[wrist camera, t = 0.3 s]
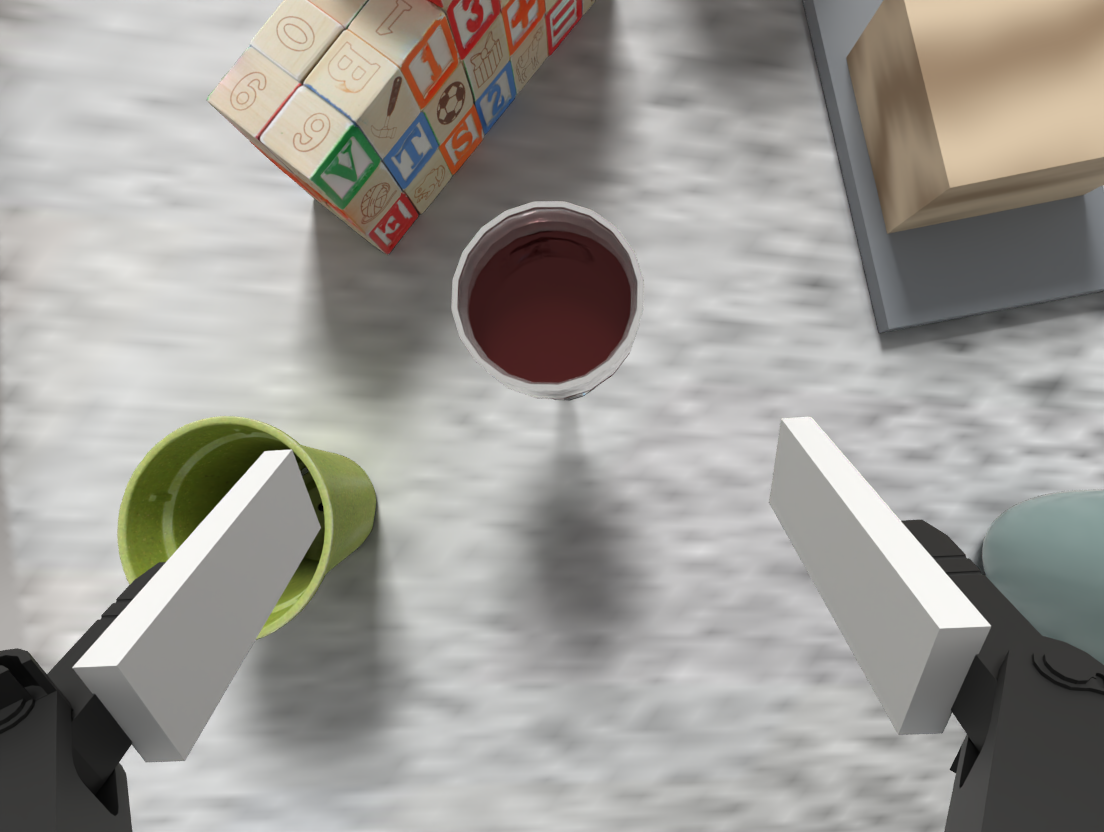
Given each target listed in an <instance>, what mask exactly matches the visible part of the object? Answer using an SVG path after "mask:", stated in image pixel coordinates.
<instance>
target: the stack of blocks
mask: <svg viewBox="0 0 1104 832" xmlns="http://www.w3.org/2000/svg"><path fill="white" fill-rule="evenodd" d="M595 1H596V0H284V1H283V2H282V3H281V4H280V6H279V7H278V8H277V9H276V11H275V12H274V13H273V14H272V15H271V17H270V18H269V19H268V20H267V22H266V23H265V24H264V25H263V27H262V28H261V29H260V30H259V31H258V33H257V34H256V35H255V36H254V38H253V39H252V40H251V42H250V44H249V45H250V47H249V48H247V49H246V50H245V51H244V53H243V54H242V55H241V56H240V58H239V59H238V60H237V61H236V62H235V64H234V65H233V66H232V68H231V69H230V70H229V71H228V72H227V73H226V75H225V76H224V77H223V78H222V80H221V81H220V83H219V84H218V85H217V86H216V87H215V89H214V90H213V91H212V92H211V93H210V95H209V96H208V98H207V101H208V102H209V103H210V104H211V105H212V106H213V107H214V108H215V109H216V110H217V111H218V112H219V113H220V114H221V115H223V116H224V117H225V118H226V119H227V120H228V121H229V122H230V123H231V124H232V125H233V126H234V127H235V128H236V129H238V130H239V131H240V132H241V133H242V134H243V135H244V136H245V137H246V138H247V139H249V140H250V142H251V143H252V144H253V145H254V146H255V147H256V148H257V149H258V150H260V151H261V152H262V153H263V154H264V155H265V156H266V157H267V158H268V159H269V160H270V161H272V162H273V163H274V164H275V165H276V166H277V167H278V168H279V169H281V170H282V171H283V172H284V173H285V174H287V175H288V176H289V177H290V178H291V179H292V180H294V181H295V182H296V183H297V184H298V185H299V186H300V187H302V188H303V189H304V190H305V191H306V192H307V193H308V194H309V195H311V196H312V197H313V198H314V199H315V200H317V201H318V202H319V203H321V204H322V205H323V206H324V207H326V208H327V209H328V210H330V211H331V212H332V213H333V214H335V215H336V216H337V217H338V218H340V219H341V220H342V221H344V222H345V223H346V224H347V225H349V226H350V227H351V228H352V229H353V230H354V231H356V232H357V233H358V234H359V235H361V236H362V237H363V238H365V239H366V240H367V241H368V242H370V243H371V244H372V245H374V246H375V247H376V248H378V249H379V250H381V251H382V252H384V253H385V254H387V255H388V254H389V253H390V252H391V251H392V249H393V248H394V247H395V246H396V244H397V243H398V242H399V240H400V239H401V238H402V237H403V235H404V234H405V233H406V231H407V230H408V229H409V228H410V227H411V225H412V224H413V222H414V221H415V220H416V219H417V218H418V215H419V214H422V213H424V211H425V210H426V209H427V208H428V206H429V205H430V204H431V203H432V202H433V200H434V199H435V198H436V197H437V195H438V194H439V193H440V192H441V190H442V189H443V188H444V187H445V185H446V184H447V183H448V182H449V180H450V179H451V177H452V175H454V174H455V173H456V172H457V171H458V170H459V168H460V167H461V166H462V165H463V163H464V162H465V161H466V160H467V159H468V157H469V156H470V155H471V154H472V153H473V151H474V150H475V149H476V148H477V146H478V145H479V144H480V143H481V141H482V140H483V139H484V135H485V134H486V133H487V132H488V131H489V130H490V129H491V127H492V126H493V125H494V123H495V122H496V121H497V120H498V118H499V117H500V116H501V115H502V114H503V112H504V111H505V110H506V109H507V107H508V106H509V105H510V104H511V102H512V101H513V100H514V99H515V97H516V95H517V94H518V93H519V92H520V91H521V90H522V88H523V87H524V86H525V85H526V83H527V82H528V81H529V80H530V78H531V77H532V76H533V75H534V73H535V72H536V71H537V70H538V68H539V67H540V66H541V65H542V63H543V62H544V61H545V60H546V58H547V57H548V56H550V55H551V54H552V53H553V52H554V51H555V49H556V48H557V47H558V46H559V45H560V43H561V42H562V41H563V39H564V38H565V37H566V36H567V35H568V33H569V32H570V31H571V30H572V28H573V27H574V26H575V25H576V24H577V22H578V21H579V20H580V19H581V17H582V16H583V15H584V14H585V13H586V12H587V11H588V9H589V8H590V7H591V6H592V5H593V3H594V2H595Z"/></svg>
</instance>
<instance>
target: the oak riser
mask: <svg viewBox="0 0 1104 832" xmlns="http://www.w3.org/2000/svg"><path fill="white" fill-rule="evenodd" d="M846 59H847V64H848V68H849V72H850V77H851V81H852V85H853V89H854V94H855V98H856V102H857V107H858V111H859V115H860V119H861V124H862V128H863V132H864V136H865V141H866V145H867V149H868V154H869V158H870V162H871V166H872V171H873V175H874V179H875V184H876V188H877V192H878V196H879V201H880V205H881V209H882V214H883V218H884V222H885V226H886V231H887V234H889V233H894V232H899V231H904V230H909V229H914V228H919V227H924V226H929V225H934V224H939V223H944V222H949V221H954V220H959V219H964V218H969V217H975V216H980V215H985V214H990V213H995V212H1000V211H1005V210H1010V209H1015V208H1020V207H1025V206H1030V205H1035V204H1040V203H1045V202H1050V201H1055V200H1060V199H1066V198H1071V197H1076V196H1081V195H1085V194H1087V193H1089V192H1090V191H1092V190H1094V189H1096V188H1098V187H1100V186H1102V185H1104V0H883V2H882V3H881V5H880V7H879V8H878V10H877V11H876V13H875V14H874V16H873V17H872V19H871V20H870V22H869V23H868V25H867V27H866V28H865V30H864V31H863V33H862V34H861V36H860V37H859V39H858V40H857V42H856V44H855V45H854V47H853V48H852V50H851V51H850V53H849V54H848V56H847V57H846Z"/></svg>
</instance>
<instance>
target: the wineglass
mask: <svg viewBox="0 0 1104 832" xmlns="http://www.w3.org/2000/svg"><path fill="white" fill-rule="evenodd" d="M643 295H644V279H643V276H642V273H641V270H640V267H639V264H638V260H637V257H636V254H635V251H634V250H633V249H632V247H631V246H630V244H629V243H628V242H627V240H626V239H625V238H624V236H623V235H622V233H621V232H620V231H619V229H618V228H617V227H616V226H614V225H613V224H612V223H610V222H609V221H607V220H606V219H605V218H603V217H602V216H600V215H599V214H598V213H596V212H595V211H593V210H591V209H588V208H585V207H581V206H578V205H575V204H572V203H568V202H565V201H534V202H531V203H527V204H524V205H521V206H518V207H515V208H512V209H509V210H506V211H504V212H503V213H501V214H500V215H498V216H497V217H496V218H494V219H493V220H491V221H490V222H489V223H487V224H486V225H484V226H483V227H481V228H480V230H479V231H478V232H477V234H476V235H475V236H474V237H473V239H472V240H471V241H470V243H469V244H468V245H467V247H466V248H465V249H464V251H463V252H462V255H461V258H460V260H459V263H458V266H457V269H456V271H455V274H454V277H453V279H452V305H451V310H452V313H453V317H454V320H455V324H456V327H457V331H458V334H459V338H460V339H461V341H462V342H463V344H464V345H465V346H466V348H467V349H468V351H469V352H470V354H471V355H472V357H473V358H474V360H475V361H476V362H477V363H478V364H479V365H481V366H482V367H483V368H484V369H485V371H486V372H487V373H488V374H490V375H491V376H492V377H494V378H495V379H496V380H498V381H499V382H500V383H501V384H503V385H504V386H505V387H507V388H508V389H511V390H514V391H517V392H519V393H522V394H525V395H528V396H531V397H534V398H554V399H563V400H570V399H574V398H577V397H580V396H584V395H585V394H586V393H588V392H589V391H591V390H592V389H594V388H595V387H596V386H598V385H599V384H601V383H602V382H604V381H605V380H606V379H608V378H609V377H611V376H612V375H613V374H614V373H615V372H616V370H617V369H618V368H619V366H620V365H621V364H622V362H623V361H624V360H625V359H626V357H627V356H628V355H629V353H630V351H631V348H632V345H633V343H634V340H635V337H636V334H637V331H638V328H639V325H640V318H641V316H642V313H643Z"/></svg>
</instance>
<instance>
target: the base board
mask: <svg viewBox="0 0 1104 832" xmlns="http://www.w3.org/2000/svg"><path fill="white" fill-rule="evenodd" d="M882 2H883V0H803V4H804V8H805V13H806V17H807V21H808V26H809V30H810V34H811V39H812V43H813V47H814V52H815V56H816V61H817V65H818V69H819V74H820V78H821V82H822V87H823V91H824V96H825V100H826V104H827V109H828V113H829V117H830V122H831V126H832V130H833V135H834V139H835V144H836V148H837V152H838V157H839V161H840V165H841V170H842V174H843V179H844V183H845V187H846V192H847V196H848V200H849V205H850V209H851V213H852V218H853V222H854V227H855V231H856V235H857V240H858V244H859V248H860V253H861V257H862V261H863V266H864V270H865V275H866V279H867V283H868V288H869V292H870V296H871V301H872V305H873V310H874V314H875V318H876V323H877V327H878V331H879V333H882V332H887V331H892V330H898V329H903V328H908V327H914V326H919V325H925V324H930V323H935V322H941V321H946V320H951V319H957V318H962V317H967V316H973V315H978V314H983V313H989V312H994V311H999V310H1005V309H1010V308H1015V307H1021V306H1026V305H1031V304H1037V303H1042V302H1048V301H1053V300H1058V299H1064V298H1069V297H1074V296H1080V295H1085V294H1090V293H1096V292H1101V291H1104V189H1103V185H1102V186H1100V187H1098V188H1096V189H1094V190H1092V191H1090V192H1089V193H1087V194H1085V195H1081V196H1076V197H1071V198H1066V199H1060V200H1055V201H1050V202H1045V203H1040V204H1035V205H1030V206H1025V207H1020V208H1015V209H1010V210H1005V211H1000V212H995V213H990V214H985V215H980V216H975V217H969V218H964V219H959V220H954V221H949V222H944V223H939V224H934V225H929V226H924V227H919V228H914V229H909V230H904V231H899V232H894V233H889V234H887V231H886V226H885V222H884V218H883V214H882V209H881V205H880V201H879V196H878V192H877V188H876V184H875V179H874V175H873V171H872V166H871V162H870V158H869V154H868V149H867V145H866V141H865V136H864V132H863V128H862V124H861V119H860V115H859V111H858V107H857V102H856V98H855V94H854V89H853V85H852V81H851V77H850V72H849V68H848V64H847V59H846V57H847V56H848V54H849V53H850V51H851V50H852V48H853V47H854V45H855V44H856V42H857V40H858V39H859V37H860V36H861V34H862V33H863V31H864V30H865V28H866V27H867V25H868V23H869V22H870V20H871V19H872V17H873V16H874V14H875V13H876V11H877V10H878V8H879V7H880V5H881V3H882Z"/></svg>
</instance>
